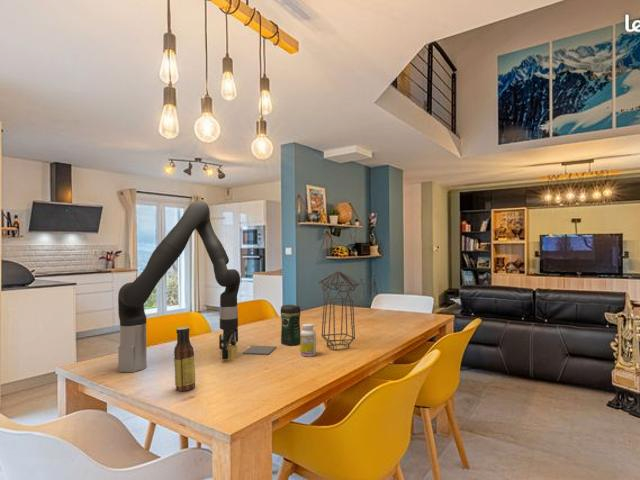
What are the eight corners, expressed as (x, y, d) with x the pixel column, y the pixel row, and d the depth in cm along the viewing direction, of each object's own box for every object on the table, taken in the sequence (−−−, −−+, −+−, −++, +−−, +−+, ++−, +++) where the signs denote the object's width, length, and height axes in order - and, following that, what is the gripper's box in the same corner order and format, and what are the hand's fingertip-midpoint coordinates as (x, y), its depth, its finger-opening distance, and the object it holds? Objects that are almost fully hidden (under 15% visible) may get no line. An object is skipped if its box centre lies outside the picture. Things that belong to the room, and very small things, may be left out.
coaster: (268, 354, 160) (268, 353, 160) (242, 354, 162) (242, 352, 162) (276, 347, 172) (276, 346, 172) (251, 346, 174) (251, 345, 174)
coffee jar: (304, 343, 179) (303, 304, 180) (292, 346, 173) (291, 306, 174) (290, 340, 186) (289, 303, 186) (278, 343, 180) (277, 305, 180)
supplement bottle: (306, 351, 164) (305, 322, 165) (318, 353, 161) (318, 324, 161) (297, 355, 159) (297, 325, 159) (310, 357, 155) (310, 326, 155)
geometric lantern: (316, 345, 176) (316, 270, 177) (347, 342, 181) (346, 270, 183) (329, 353, 161) (329, 272, 163) (361, 350, 166) (361, 271, 168)
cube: (232, 360, 153) (232, 348, 153) (221, 360, 154) (221, 348, 154) (237, 357, 158) (237, 345, 158) (226, 356, 159) (225, 345, 159)
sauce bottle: (197, 384, 126) (197, 325, 126) (192, 391, 120) (191, 329, 120) (178, 385, 126) (177, 326, 126) (171, 392, 119) (171, 330, 120)
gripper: (230, 320, 149) (230, 361, 148) (243, 314, 163) (243, 351, 162) (212, 320, 150) (213, 361, 150) (227, 313, 164) (227, 351, 164)
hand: (229, 356), depth 156 cm, fingers open, 7 cm apart
